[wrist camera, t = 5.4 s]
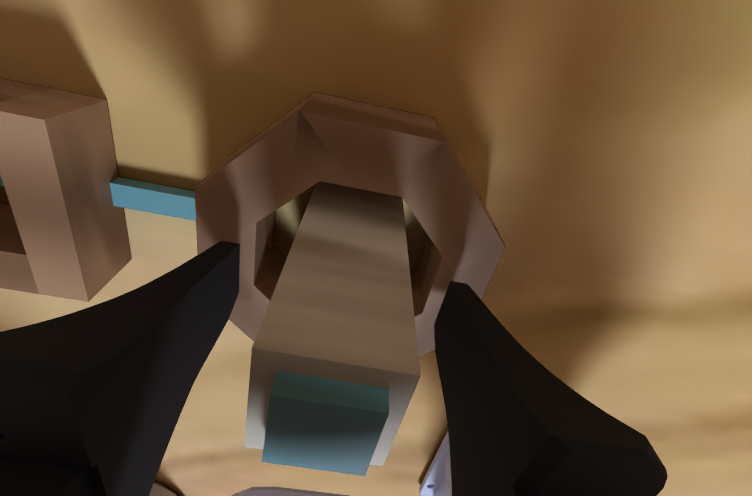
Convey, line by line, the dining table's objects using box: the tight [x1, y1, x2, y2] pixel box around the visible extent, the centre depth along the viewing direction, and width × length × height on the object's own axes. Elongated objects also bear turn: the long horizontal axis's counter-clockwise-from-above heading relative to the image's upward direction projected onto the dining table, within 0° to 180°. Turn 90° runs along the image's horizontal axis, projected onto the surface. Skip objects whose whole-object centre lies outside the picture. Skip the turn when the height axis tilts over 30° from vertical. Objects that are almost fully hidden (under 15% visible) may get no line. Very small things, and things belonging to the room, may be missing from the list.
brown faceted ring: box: [194, 92, 505, 357], centre depth 15 cm, size 10×10×3 cm
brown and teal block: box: [244, 181, 420, 476], centre depth 12 cm, size 4×4×10 cm
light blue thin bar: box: [0, 175, 196, 221], centre depth 15 cm, size 1×11×1 cm, turn 79°
